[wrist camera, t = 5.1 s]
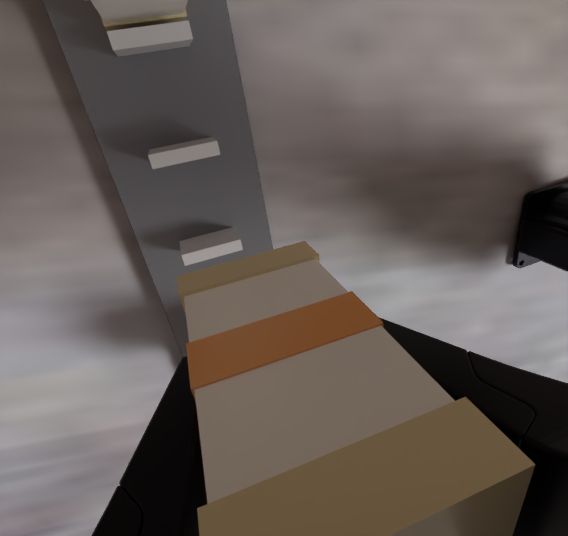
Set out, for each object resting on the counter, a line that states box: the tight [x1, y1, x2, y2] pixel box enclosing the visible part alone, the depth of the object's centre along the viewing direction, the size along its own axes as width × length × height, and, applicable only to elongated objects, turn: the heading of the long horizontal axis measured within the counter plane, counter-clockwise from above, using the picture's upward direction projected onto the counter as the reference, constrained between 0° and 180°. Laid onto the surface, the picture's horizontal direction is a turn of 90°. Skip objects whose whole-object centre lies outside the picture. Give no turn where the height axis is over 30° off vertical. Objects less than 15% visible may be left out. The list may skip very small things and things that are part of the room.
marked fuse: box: [177, 241, 535, 536], centre depth 7 cm, size 4×4×7 cm
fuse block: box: [43, 0, 273, 357], centre depth 16 cm, size 7×24×7 cm, turn 9°
